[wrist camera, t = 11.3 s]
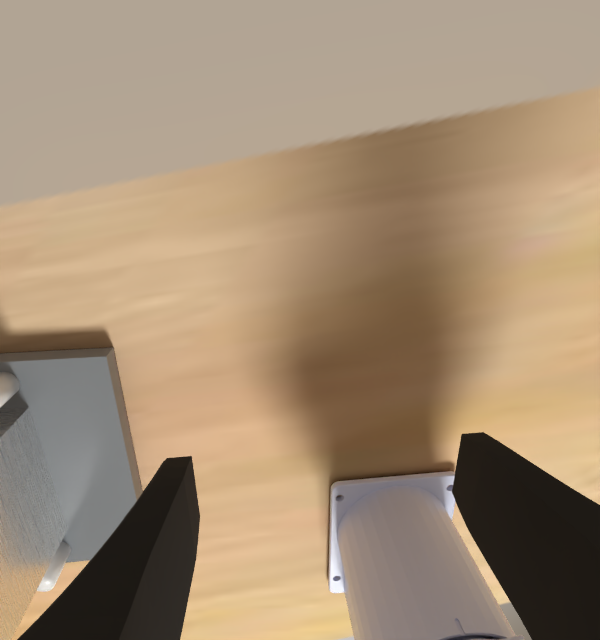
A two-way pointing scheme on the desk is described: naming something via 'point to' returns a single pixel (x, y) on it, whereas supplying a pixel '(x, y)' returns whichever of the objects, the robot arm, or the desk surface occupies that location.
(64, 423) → the pin tray
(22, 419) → the block
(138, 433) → the desk surface
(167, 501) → the robot arm
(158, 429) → the desk surface
